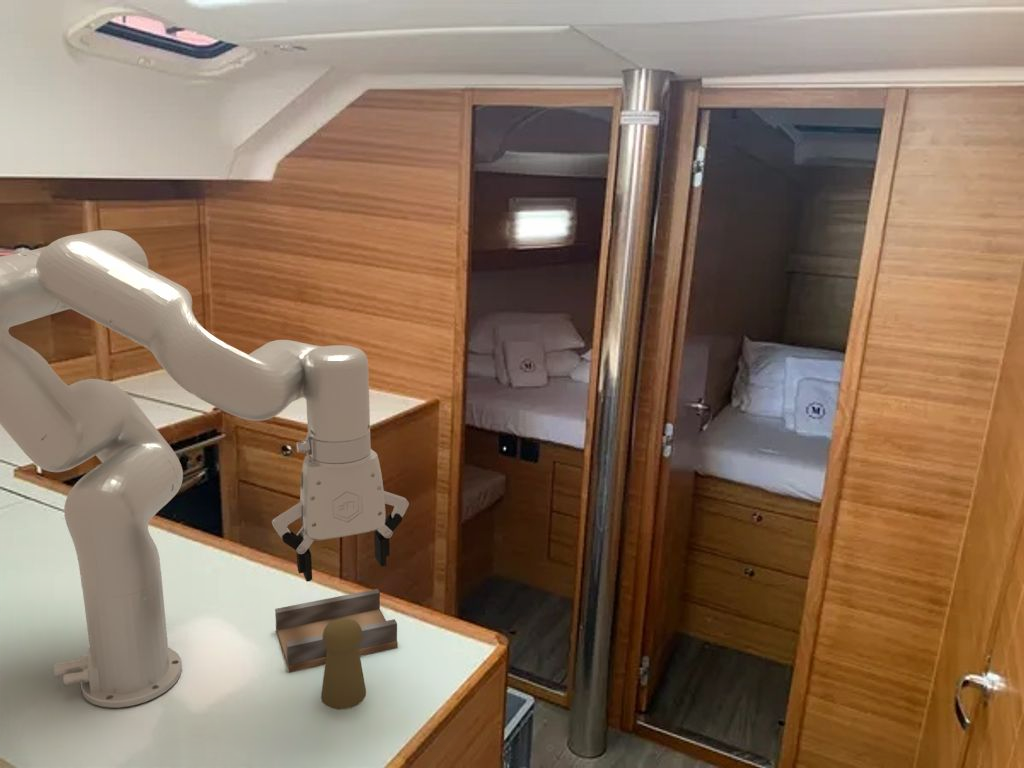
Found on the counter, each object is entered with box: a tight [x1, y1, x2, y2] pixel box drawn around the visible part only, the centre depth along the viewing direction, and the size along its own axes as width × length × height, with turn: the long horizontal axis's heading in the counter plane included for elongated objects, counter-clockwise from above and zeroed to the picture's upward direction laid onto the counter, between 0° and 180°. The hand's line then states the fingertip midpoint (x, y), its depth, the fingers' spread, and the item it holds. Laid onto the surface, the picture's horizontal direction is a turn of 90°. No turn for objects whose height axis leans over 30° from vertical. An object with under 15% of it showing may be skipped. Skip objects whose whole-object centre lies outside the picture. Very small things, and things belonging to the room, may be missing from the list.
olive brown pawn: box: [320, 618, 367, 710], centre depth 108 cm, size 6×6×11 cm
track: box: [274, 588, 399, 673], centre depth 121 cm, size 16×11×4 cm
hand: (344, 568), depth 104 cm, fingers open, 9 cm apart
